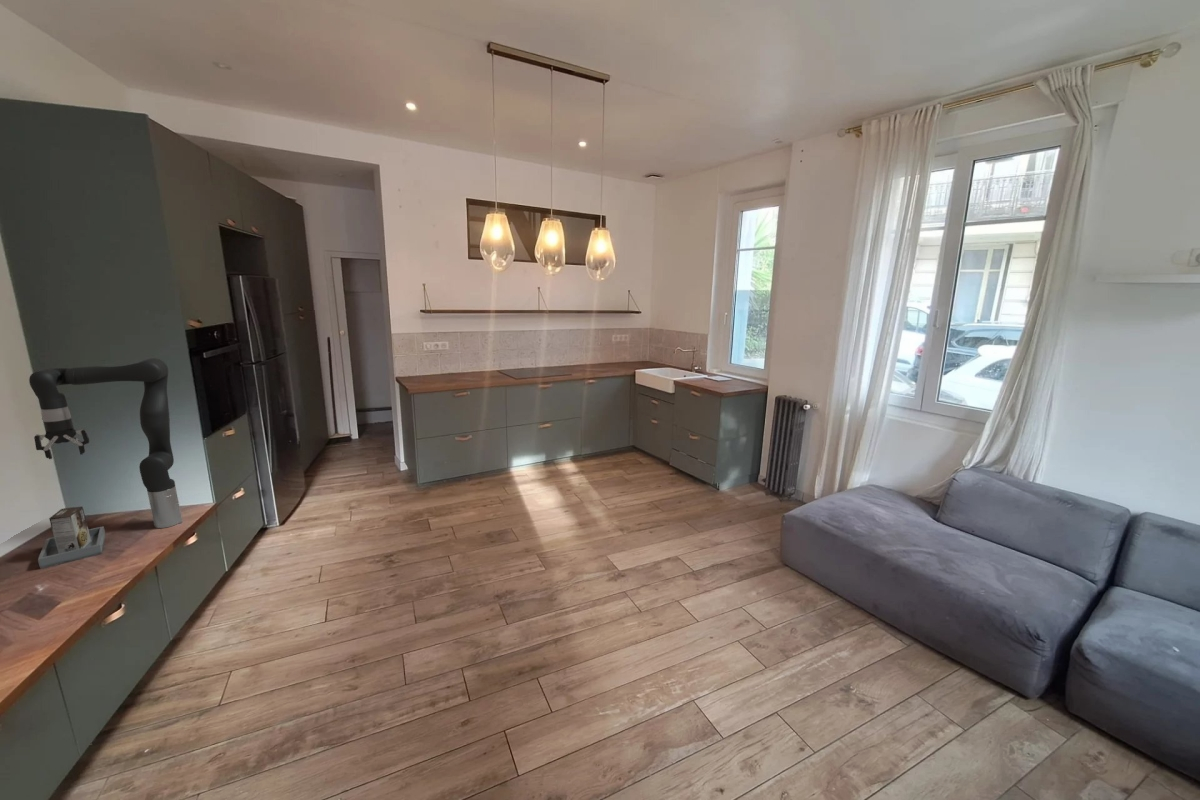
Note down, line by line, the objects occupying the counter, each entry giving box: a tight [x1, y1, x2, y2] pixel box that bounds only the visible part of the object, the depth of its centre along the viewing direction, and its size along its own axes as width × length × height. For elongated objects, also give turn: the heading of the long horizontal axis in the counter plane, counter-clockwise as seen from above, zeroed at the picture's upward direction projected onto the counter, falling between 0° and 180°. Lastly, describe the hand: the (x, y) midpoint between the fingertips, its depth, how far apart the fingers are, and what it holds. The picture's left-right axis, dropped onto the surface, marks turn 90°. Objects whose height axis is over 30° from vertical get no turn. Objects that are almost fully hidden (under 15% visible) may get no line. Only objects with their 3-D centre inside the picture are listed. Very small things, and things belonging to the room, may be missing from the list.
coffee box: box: [48, 506, 91, 553], centre depth 184 cm, size 9×6×16 cm
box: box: [37, 526, 106, 570], centre depth 186 cm, size 16×20×4 cm
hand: (66, 456), depth 189 cm, fingers open, 8 cm apart
